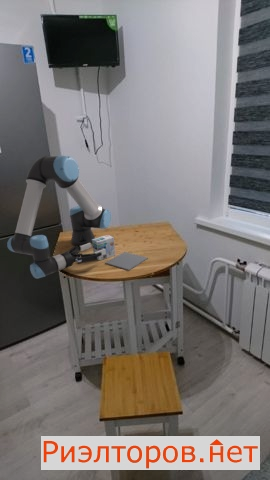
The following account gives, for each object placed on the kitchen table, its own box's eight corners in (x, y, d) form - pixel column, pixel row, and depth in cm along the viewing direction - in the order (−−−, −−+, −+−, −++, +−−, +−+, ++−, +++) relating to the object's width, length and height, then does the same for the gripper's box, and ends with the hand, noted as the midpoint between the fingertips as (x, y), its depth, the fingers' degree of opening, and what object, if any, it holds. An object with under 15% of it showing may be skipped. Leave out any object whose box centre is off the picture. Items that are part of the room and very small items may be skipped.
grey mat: (105, 263, 148) (105, 262, 148) (124, 252, 160) (124, 251, 159) (129, 270, 139) (129, 269, 138) (147, 258, 150) (147, 257, 150)
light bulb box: (99, 260, 152) (97, 242, 148) (93, 257, 157) (91, 239, 153) (116, 255, 157) (114, 237, 154) (109, 251, 163) (108, 234, 159)
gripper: (52, 261, 149) (85, 248, 162) (77, 275, 132) (112, 260, 145) (49, 248, 146) (84, 236, 159) (74, 261, 129) (111, 247, 142)
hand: (97, 248), depth 152 cm, fingers open, 13 cm apart
